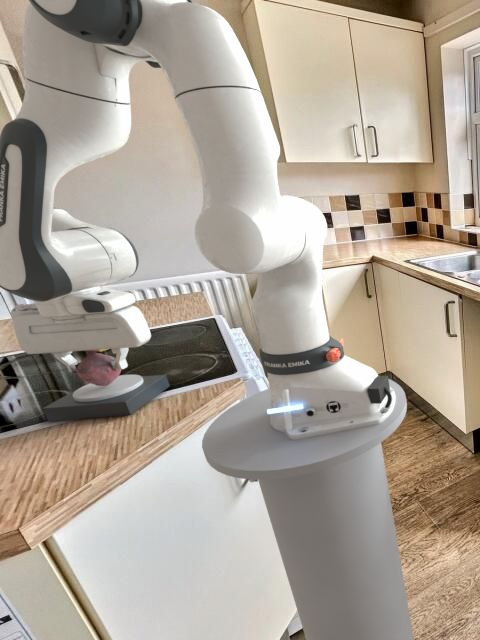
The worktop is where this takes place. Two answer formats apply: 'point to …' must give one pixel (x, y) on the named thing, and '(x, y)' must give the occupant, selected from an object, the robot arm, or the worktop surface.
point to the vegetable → (97, 369)
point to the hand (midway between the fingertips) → (99, 370)
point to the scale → (107, 398)
